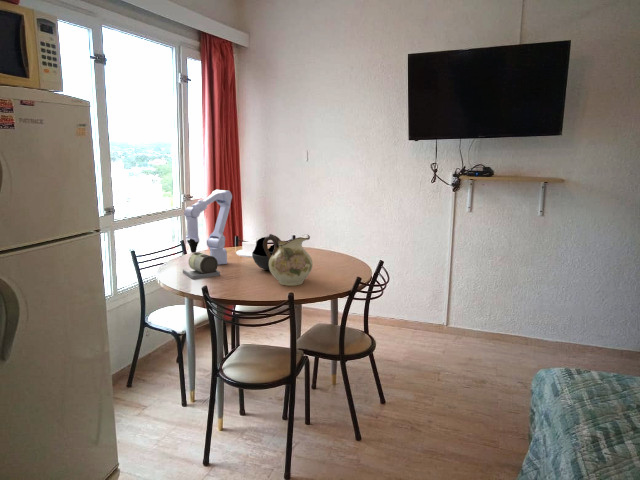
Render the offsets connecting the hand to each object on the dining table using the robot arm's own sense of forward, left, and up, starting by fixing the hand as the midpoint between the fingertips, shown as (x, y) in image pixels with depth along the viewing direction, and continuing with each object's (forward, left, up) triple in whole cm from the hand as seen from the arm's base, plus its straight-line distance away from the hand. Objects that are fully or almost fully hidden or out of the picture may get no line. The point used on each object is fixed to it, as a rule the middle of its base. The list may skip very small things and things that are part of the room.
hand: (193, 252), depth 256 cm
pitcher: (-32, +51, -10) cm, 61 cm away
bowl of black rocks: (-36, +23, -10) cm, 44 cm away
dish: (-49, -21, -10) cm, 54 cm away
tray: (0, +10, -10) cm, 14 cm away
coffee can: (-1, +2, -5) cm, 5 cm away
